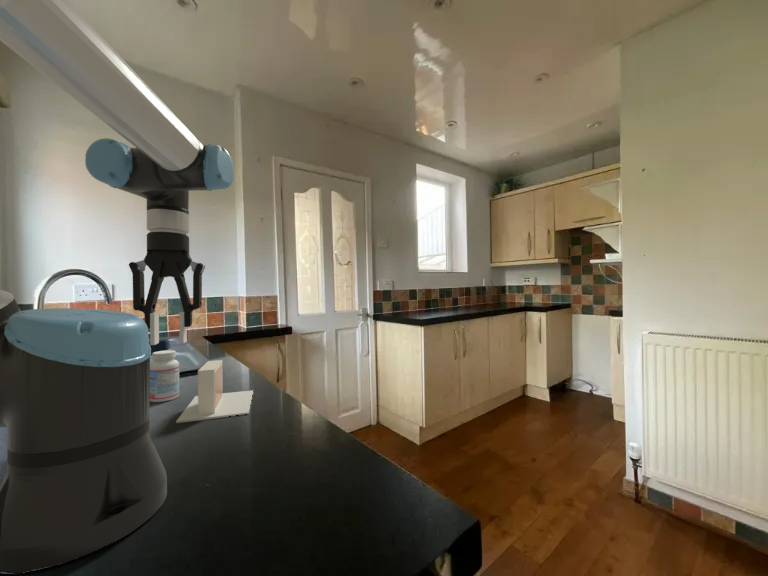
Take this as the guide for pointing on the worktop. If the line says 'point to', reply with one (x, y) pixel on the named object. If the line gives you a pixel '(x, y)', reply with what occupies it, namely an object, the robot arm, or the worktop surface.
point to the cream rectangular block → (210, 387)
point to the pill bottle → (164, 376)
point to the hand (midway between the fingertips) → (169, 343)
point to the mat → (220, 407)
